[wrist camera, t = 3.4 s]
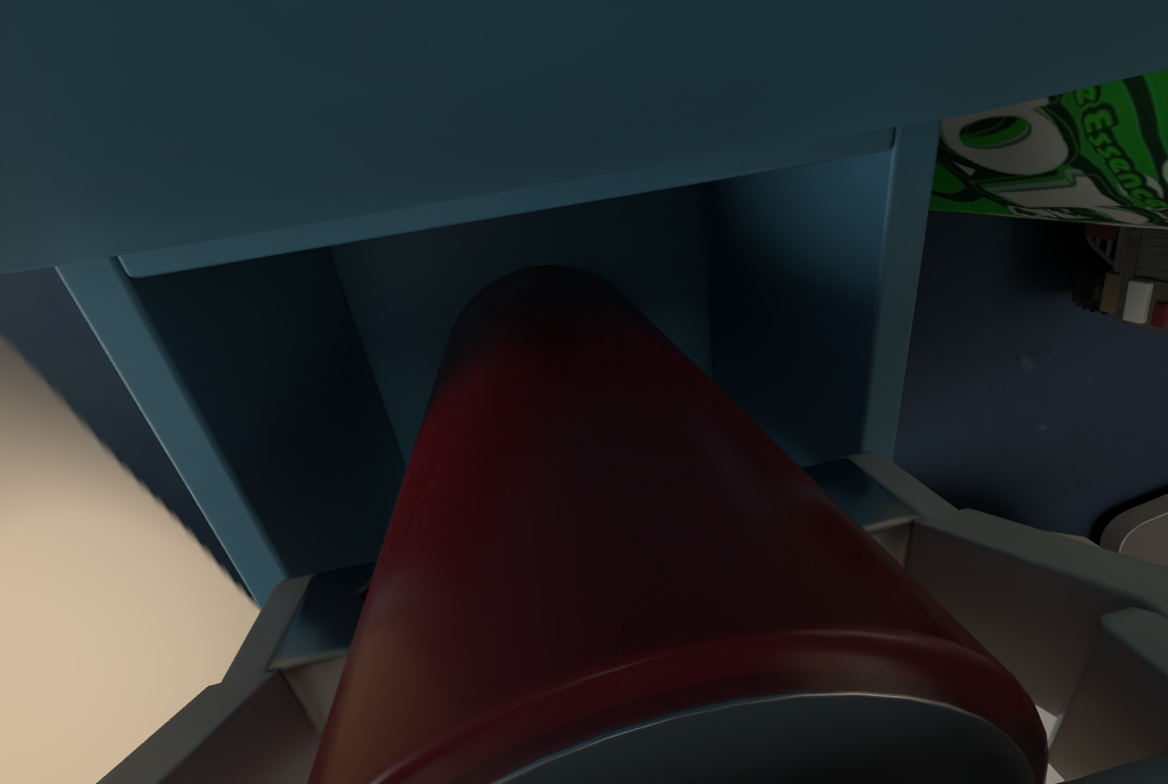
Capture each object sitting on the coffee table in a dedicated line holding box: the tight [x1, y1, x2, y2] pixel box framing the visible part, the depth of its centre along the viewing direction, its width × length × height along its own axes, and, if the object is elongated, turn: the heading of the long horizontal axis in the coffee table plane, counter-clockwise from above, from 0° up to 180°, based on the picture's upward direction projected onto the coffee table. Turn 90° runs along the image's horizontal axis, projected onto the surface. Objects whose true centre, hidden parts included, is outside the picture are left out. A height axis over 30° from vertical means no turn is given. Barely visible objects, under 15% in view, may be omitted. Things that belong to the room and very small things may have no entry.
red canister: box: [307, 266, 1049, 784], centre depth 9 cm, size 6×6×12 cm
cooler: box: [54, 119, 942, 610], centre depth 12 cm, size 11×11×8 cm
